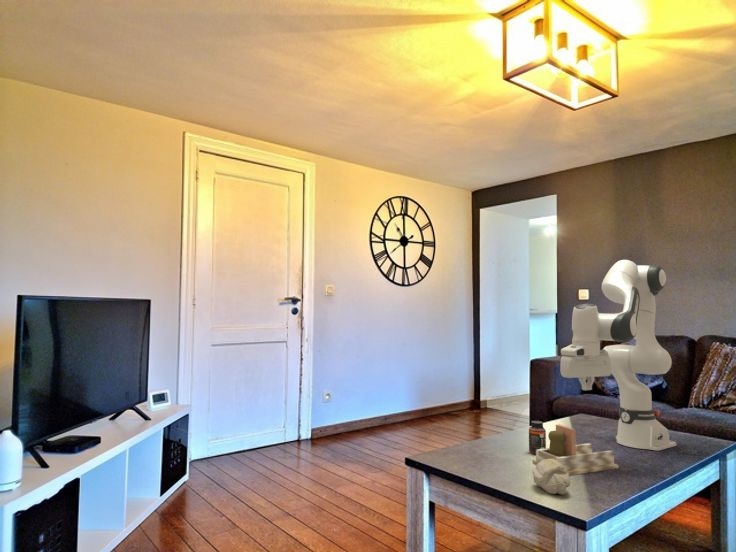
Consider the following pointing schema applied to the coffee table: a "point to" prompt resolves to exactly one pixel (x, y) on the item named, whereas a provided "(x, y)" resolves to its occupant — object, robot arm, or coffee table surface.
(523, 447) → the coffee table surface
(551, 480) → the fossil replica
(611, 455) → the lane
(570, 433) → the block
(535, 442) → the supplement bottle
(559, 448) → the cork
